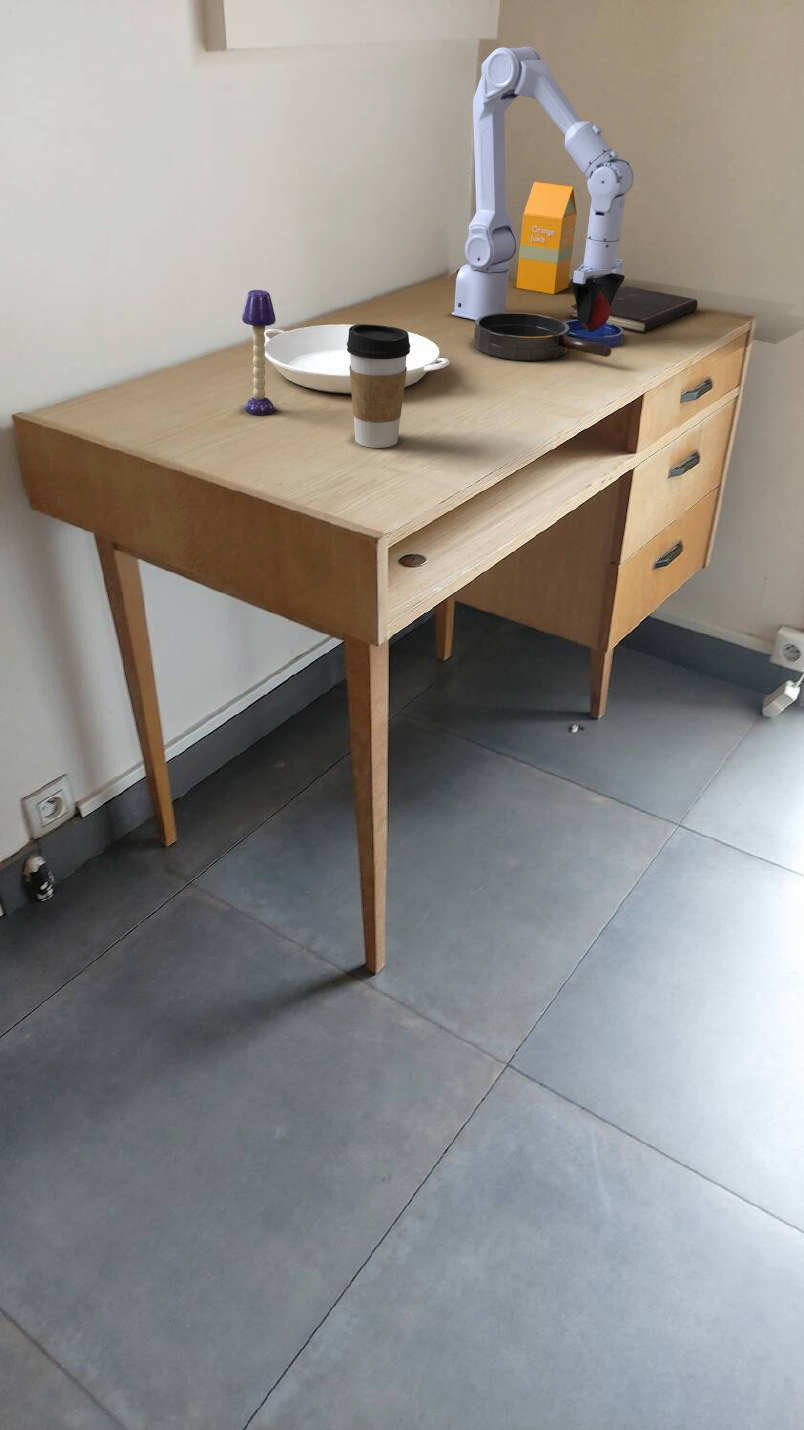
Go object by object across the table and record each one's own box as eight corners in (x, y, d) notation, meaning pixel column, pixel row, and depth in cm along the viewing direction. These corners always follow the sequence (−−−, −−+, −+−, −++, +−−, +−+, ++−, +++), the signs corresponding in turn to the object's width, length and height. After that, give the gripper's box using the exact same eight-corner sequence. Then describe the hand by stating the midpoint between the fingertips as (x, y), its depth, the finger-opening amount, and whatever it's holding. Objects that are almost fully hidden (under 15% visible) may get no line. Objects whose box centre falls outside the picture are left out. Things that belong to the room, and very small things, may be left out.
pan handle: (554, 346, 180) (555, 335, 179) (559, 344, 181) (560, 333, 180) (607, 359, 175) (609, 348, 174) (612, 356, 176) (614, 345, 175)
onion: (606, 329, 194) (612, 283, 189) (607, 337, 189) (614, 291, 184) (574, 327, 194) (580, 281, 189) (575, 335, 189) (581, 289, 185)
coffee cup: (344, 429, 149) (345, 320, 140) (404, 430, 149) (408, 321, 141) (347, 451, 142) (348, 338, 133) (409, 451, 143) (414, 339, 134)
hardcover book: (570, 317, 204) (571, 305, 202) (625, 297, 219) (627, 285, 217) (644, 333, 196) (646, 321, 194) (696, 311, 211) (698, 299, 210)
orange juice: (553, 294, 219) (565, 188, 207) (515, 287, 222) (525, 183, 211) (568, 287, 224) (581, 184, 213) (531, 281, 228) (541, 179, 216)
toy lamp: (271, 403, 157) (267, 286, 147) (283, 413, 153) (279, 294, 144) (241, 407, 155) (234, 289, 145) (252, 417, 151) (246, 297, 142)
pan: (216, 379, 165) (214, 351, 163) (305, 337, 186) (305, 311, 184) (408, 417, 154) (409, 387, 151) (480, 367, 175) (482, 340, 173)
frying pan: (455, 348, 184) (456, 324, 182) (506, 330, 195) (508, 307, 193) (534, 367, 176) (537, 343, 174) (583, 347, 187) (586, 324, 185)
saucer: (545, 338, 191) (546, 328, 190) (578, 326, 199) (579, 316, 198) (602, 351, 185) (603, 341, 184) (633, 338, 193) (635, 328, 192)
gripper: (603, 248, 176) (592, 331, 183) (643, 236, 185) (630, 316, 193) (566, 241, 179) (557, 323, 187) (607, 230, 189) (597, 308, 196)
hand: (592, 319), depth 190 cm, fingers closed on onion, 6 cm apart
